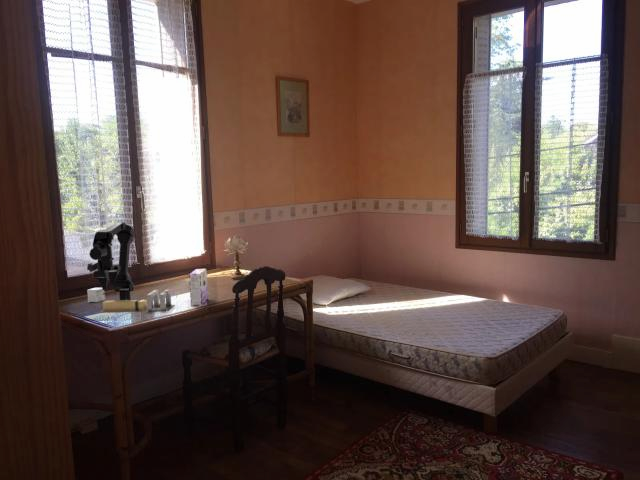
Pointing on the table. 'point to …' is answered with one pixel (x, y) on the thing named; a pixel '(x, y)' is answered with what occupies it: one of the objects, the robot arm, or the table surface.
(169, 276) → the table surface
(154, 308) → the grey slotted rack
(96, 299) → the skincare box
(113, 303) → the brass tube
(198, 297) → the candy box
